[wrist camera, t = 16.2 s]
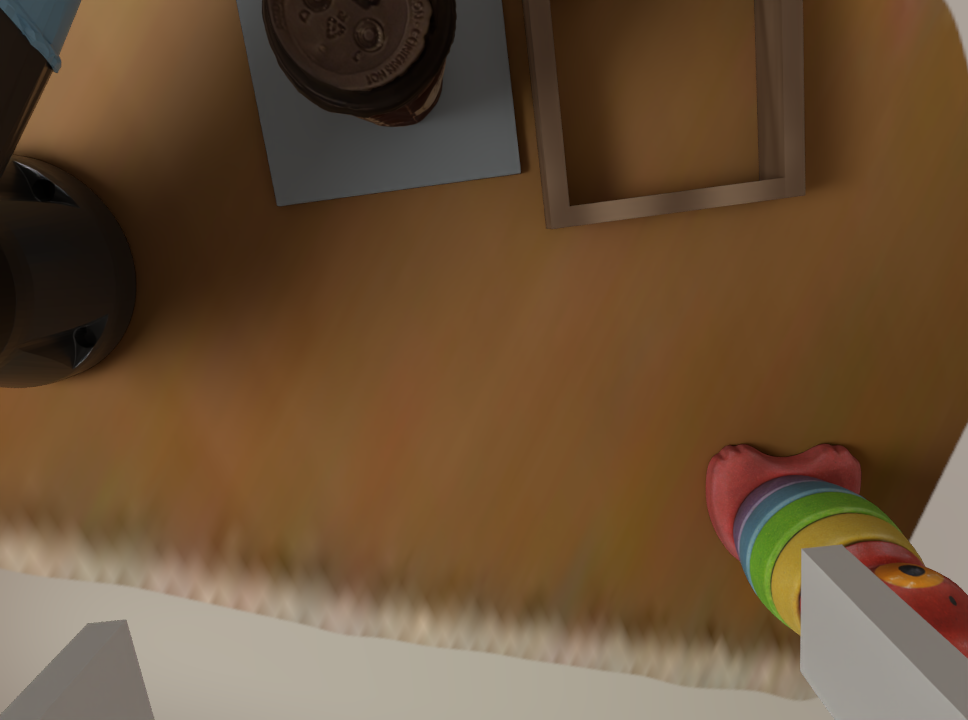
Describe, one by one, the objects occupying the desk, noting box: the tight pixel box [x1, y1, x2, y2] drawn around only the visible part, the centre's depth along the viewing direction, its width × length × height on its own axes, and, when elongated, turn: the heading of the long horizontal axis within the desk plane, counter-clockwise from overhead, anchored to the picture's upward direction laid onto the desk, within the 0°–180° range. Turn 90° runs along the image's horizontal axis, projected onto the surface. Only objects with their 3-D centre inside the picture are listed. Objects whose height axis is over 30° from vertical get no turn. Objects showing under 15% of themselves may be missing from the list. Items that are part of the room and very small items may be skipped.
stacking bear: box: [706, 444, 968, 658], centre depth 37 cm, size 11×10×18 cm
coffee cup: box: [262, 0, 457, 127], centre depth 32 cm, size 9×8×13 cm
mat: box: [236, 0, 521, 206], centre depth 38 cm, size 16×14×1 cm
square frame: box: [522, 0, 805, 229], centre depth 37 cm, size 15×15×4 cm
